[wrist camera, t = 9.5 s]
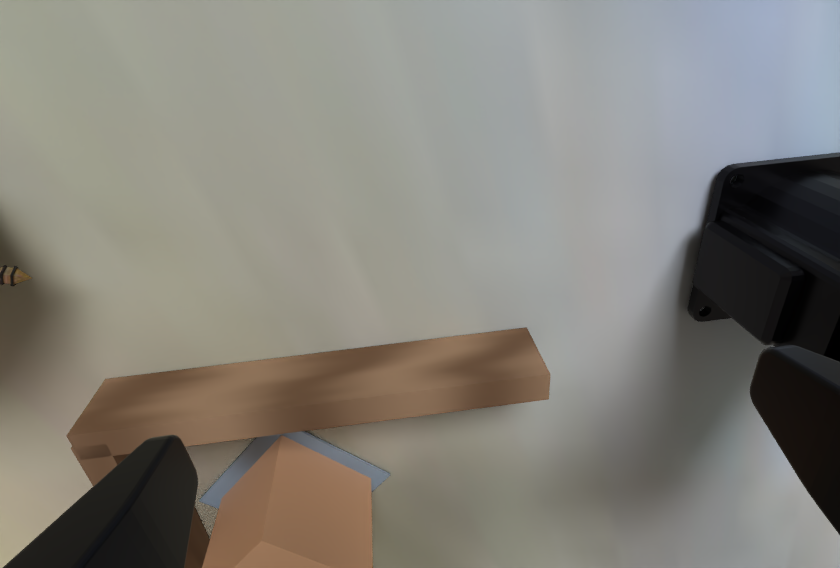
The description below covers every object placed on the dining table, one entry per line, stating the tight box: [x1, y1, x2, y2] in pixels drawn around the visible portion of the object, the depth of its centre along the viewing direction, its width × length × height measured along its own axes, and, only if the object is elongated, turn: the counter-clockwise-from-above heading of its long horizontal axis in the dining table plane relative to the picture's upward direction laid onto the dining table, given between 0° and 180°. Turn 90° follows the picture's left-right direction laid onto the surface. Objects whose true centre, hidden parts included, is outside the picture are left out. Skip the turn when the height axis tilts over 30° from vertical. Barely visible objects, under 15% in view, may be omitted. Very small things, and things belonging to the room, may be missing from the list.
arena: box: [67, 328, 550, 568], centre depth 24 cm, size 17×19×3 cm
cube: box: [202, 435, 373, 568], centre depth 22 cm, size 5×5×5 cm
